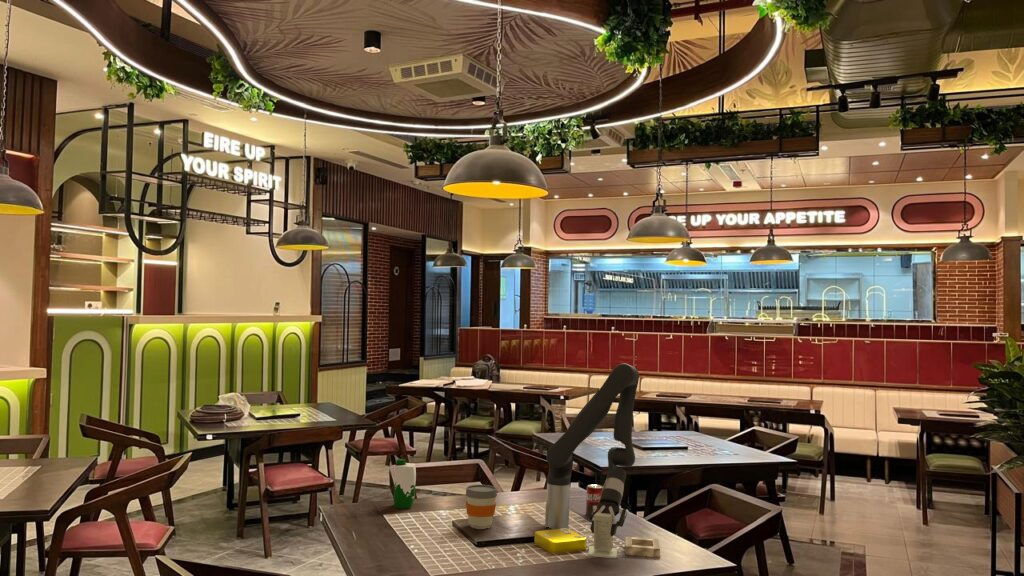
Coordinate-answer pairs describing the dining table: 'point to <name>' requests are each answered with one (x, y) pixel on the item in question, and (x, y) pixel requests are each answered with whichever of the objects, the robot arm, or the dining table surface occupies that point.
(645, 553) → the pocket block
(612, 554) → the coaster
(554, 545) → the element tile
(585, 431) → the robot arm
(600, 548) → the skincare box
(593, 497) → the soda can
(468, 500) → the reusable coffee cup
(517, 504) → the dining table surface
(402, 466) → the milk carton
